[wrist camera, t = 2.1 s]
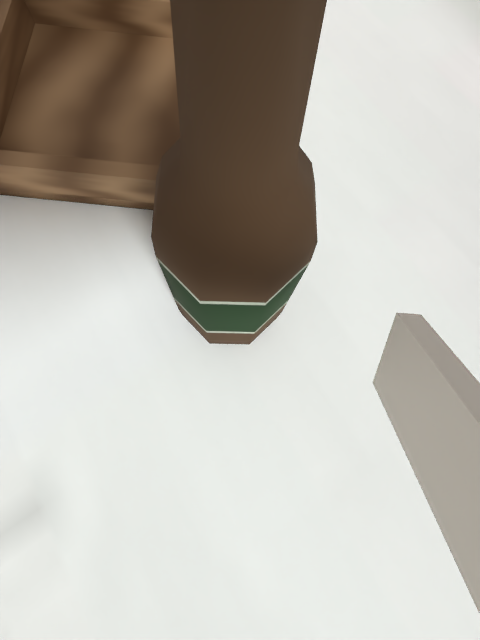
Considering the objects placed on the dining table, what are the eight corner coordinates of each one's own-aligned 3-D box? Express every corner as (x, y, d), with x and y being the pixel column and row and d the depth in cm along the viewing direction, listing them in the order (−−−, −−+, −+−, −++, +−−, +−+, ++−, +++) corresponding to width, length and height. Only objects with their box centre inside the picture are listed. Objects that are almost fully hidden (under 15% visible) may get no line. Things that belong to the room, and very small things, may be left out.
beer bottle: (165, 272, 28) (-104, -381, 5) (257, 240, 29) (387, -425, 6) (200, 365, 27) (35, 28, 3) (296, 328, 28) (685, -130, 4)
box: (223, 44, 34) (223, -3, 30) (201, 214, 30) (198, 184, 26) (30, 23, 34) (5, -28, 30) (-22, 192, 29) (-59, 158, 25)
